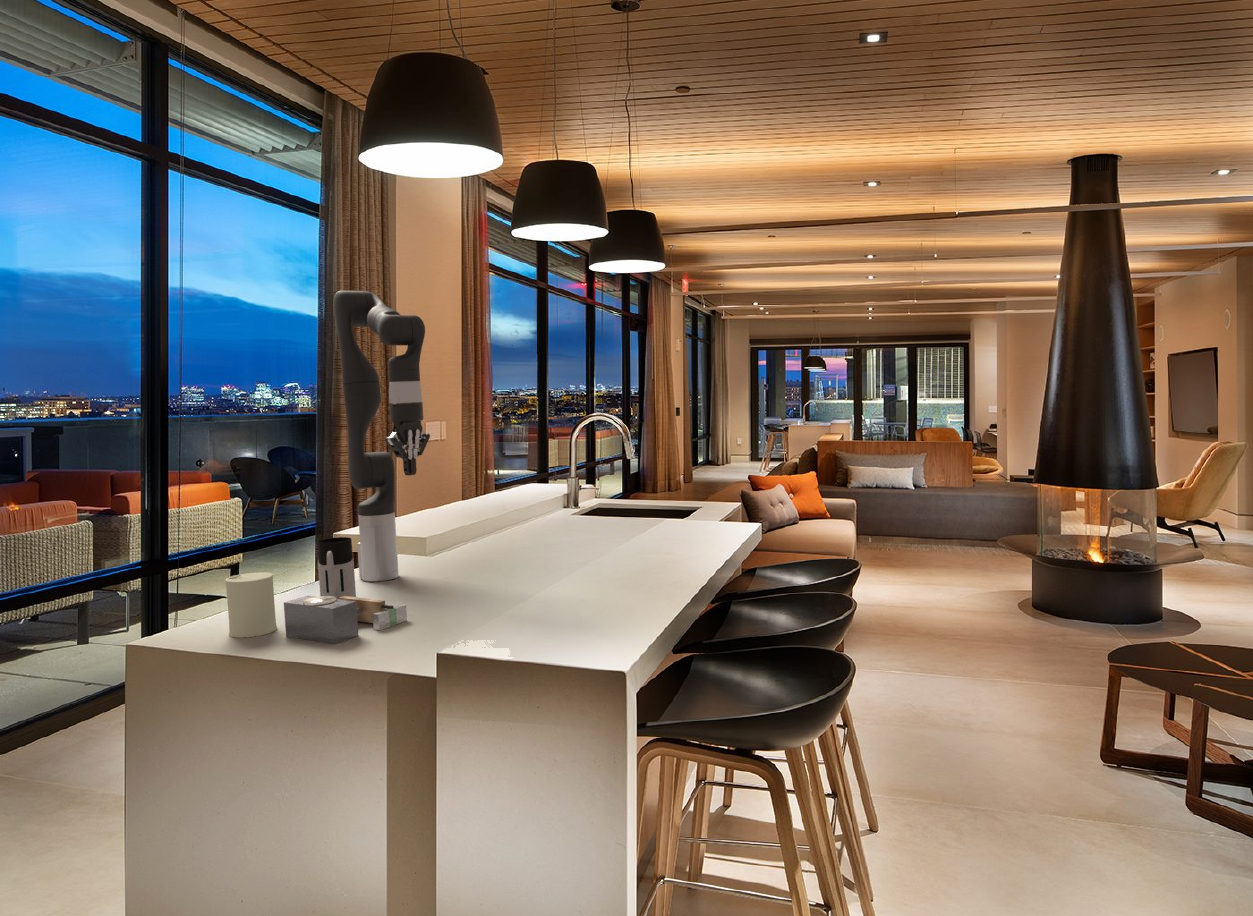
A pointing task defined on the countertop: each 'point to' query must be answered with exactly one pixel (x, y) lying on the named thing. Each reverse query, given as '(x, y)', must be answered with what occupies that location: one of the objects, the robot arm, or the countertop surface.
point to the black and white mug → (336, 567)
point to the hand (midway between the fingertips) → (410, 475)
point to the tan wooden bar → (367, 607)
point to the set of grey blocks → (332, 618)
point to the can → (251, 604)
